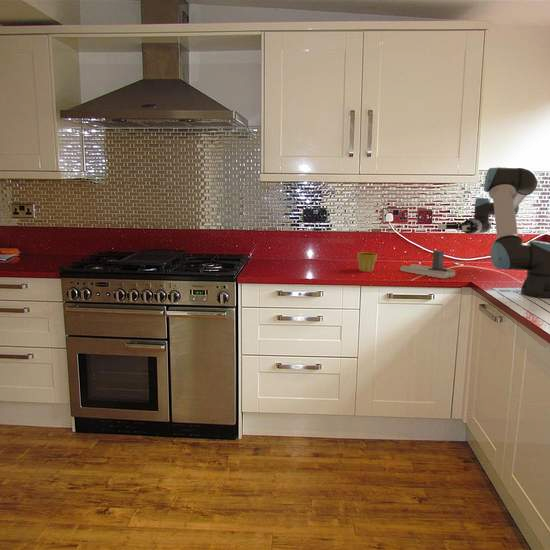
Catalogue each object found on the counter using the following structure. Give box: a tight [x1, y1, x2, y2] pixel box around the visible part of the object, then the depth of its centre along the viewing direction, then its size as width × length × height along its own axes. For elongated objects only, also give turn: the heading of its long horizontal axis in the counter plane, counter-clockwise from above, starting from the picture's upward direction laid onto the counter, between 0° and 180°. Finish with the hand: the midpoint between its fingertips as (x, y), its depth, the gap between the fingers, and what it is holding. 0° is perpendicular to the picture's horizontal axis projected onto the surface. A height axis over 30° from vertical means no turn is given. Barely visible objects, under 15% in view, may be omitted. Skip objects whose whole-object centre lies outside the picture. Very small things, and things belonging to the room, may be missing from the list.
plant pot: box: [356, 251, 378, 273], centre depth 270 cm, size 10×10×10 cm
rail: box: [399, 263, 456, 279], centre depth 265 cm, size 26×10×3 cm, turn 40°
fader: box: [428, 249, 447, 272], centre depth 260 cm, size 6×7×10 cm
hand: (450, 227), depth 264 cm, fingers open, 13 cm apart
